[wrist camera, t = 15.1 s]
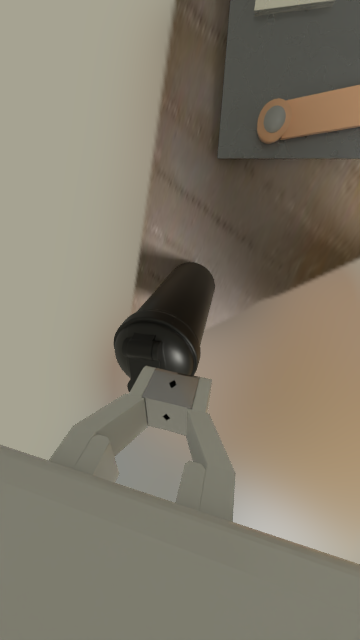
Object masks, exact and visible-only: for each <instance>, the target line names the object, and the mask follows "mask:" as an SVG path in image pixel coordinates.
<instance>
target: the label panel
mask: <svg viewBox="0 0 360 640" xmlns="http://www.w3.org/2000/svg"><path fill="white" fill-rule="evenodd" d="M356 85H360V0H230V11H229V23H228V35H227V47H226V59H225V72H224V84H223V96H222V108H221V120H220V132H219V145H218V157H217V158H218V159H360V127H355V128H349V129H343V130H337V131H332V132H326V133H320V134H314V135H308V136H302V137H296V138H290V139H284V140H280V139H281V138H280V139H279V140H277V141H276V142H274V143H271V144H266V143H263V142H262V141H261V140H260V139H259V137H258V134H257V123H258V117H259V114H260V112H261V110H262V109H263V107H264V106H265V105H266V104H267V103H268V102H270V101H271V100H273V99H278V98H280V99H284V100H285V101H286V100H290V99H295V98H300V97H304V96H309V95H314V94H318V93H323V92H328V91H332V90H337V89H342V88H346V87H351V86H356Z"/></svg>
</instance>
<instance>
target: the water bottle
mask: <svg viewBox="0 0 360 640" xmlns="http://www.w3.org/2000/svg"><path fill="white" fill-rule="evenodd" d="M214 289H215V283H214V279H213V276H212V275H211V273H210V272H209V271H208V270H207V269H206V268H205V267H203V266H202V265H199V264H196V263H184V264H181V265H179V266H178V267H177V268H175V269H174V271H173V272H172V273H171V274H170V275H169V276H168V277H167V278H166V280H165V281H164V282H163V283H162V284H161V285H160V286H159V287H158V288H157V290H156V291H155V292H154V293H153V294H152V295H151V296H150V297H149V299H148V300H147V301H146V302H145V303H144V304H143V305H142V306H141V308H140V309H139V310H138V311H137V312H136V313H134V314H132V315H131V316H129V317H128V318H127V319H126V320H125V321H124V322H123V323H122V325H121V326H120V327H119V328H118V330H117V332H116V334H115V337H114V349H115V355H116V359H117V361H118V363H119V365H120V367H121V368H122V370H123V371H124V372H125V373H126V375H128V376H129V377H130V378H131V380H130V381H129V383H128V390H129V392H130V391H131V389H132V387H133V385H134V384H135V382H136V380H137V378H138V376H139V375H140V373H141V371H142V369H143V368H144V367H145V366H150V367H154V368H159V369H163V370H168V371H172V372H176V373H183V374H188V375H194V374H195V372H196V370H197V367H198V363H199V360H200V344H201V340H202V336H203V333H204V329H205V325H206V321H207V317H208V313H209V309H210V305H211V301H212V297H213V293H214Z"/></svg>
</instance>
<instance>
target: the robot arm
mask: <svg viewBox="0 0 360 640" xmlns="http://www.w3.org/2000/svg"><path fill="white" fill-rule="evenodd" d="M211 385H212V380H211V379H207V378H202V377H198V376H193V375H188V374H183V373H176V372H172V371H168V370H163V369H159V368H154V367H150V366H145V367H144V368H143V369H142V371H141V373H140V375H139V376H138V378H137V380H136V382H135V384H134V385H133V387H132V389H131V391H130V393H129V394H124V395H123V396H121V397H119V398H118V399H116V400H114V401H113V402H111V403H109V404H108V405H106V406H105V407H103V408H101V409H100V410H98V411H96V412H95V413H94V414H92V415H90V416H89V417H87V418H85V419H83V420H82V421H80V422H79V423H77V424H75V425H74V426H73V427H72V428H71V430H70V431H69V432H68V434H67V435H66V437H65V438H64V439H63V441H62V442H61V444H60V445H59V447H58V448H57V449H56V451H55V452H54V454H53V455H52V456H51V458H50V459H49V461H48V460H45V459H42V458H39V457H36V456H33V455H30V454H27V453H24V452H21V451H18V450H15V449H12V448H9V447H6V446H3V445H0V640H360V564H357V563H354V562H351V561H348V560H345V559H342V558H339V557H336V556H333V555H330V554H327V553H324V552H321V551H318V550H315V549H312V548H309V547H306V546H303V545H300V544H297V543H294V542H291V541H288V540H285V539H282V538H279V537H276V536H273V535H270V534H267V533H264V532H261V531H258V530H255V529H252V528H249V527H246V526H243V525H240V524H237V523H234V522H233V505H234V486H235V471H234V469H233V467H232V464H231V462H230V460H229V457H228V455H227V453H226V451H225V448H224V446H223V444H222V442H221V440H220V437H219V435H218V433H217V430H216V428H215V426H214V423H213V421H212V419H211V417H210V414H208V407H209V400H210V393H211ZM148 426H151V427H155V428H160V429H164V430H168V431H172V432H175V433H178V434H181V435H185V436H186V438H187V441H188V445H189V449H190V453H191V456H192V460H193V462H192V461H188V462H187V463H185V466H184V470H183V474H182V478H181V482H180V486H179V490H178V495H177V498H176V502H175V503H173V502H171V501H168V500H165V499H162V498H159V497H156V496H153V495H150V494H147V493H144V492H141V491H138V490H135V489H132V488H129V487H126V486H123V485H120V484H117V483H115V482H116V480H117V477H118V475H119V471H118V468H117V464H116V461H115V458H114V457H115V456H116V455H117V454H118V453H119V452H120V451H121V450H123V449H124V448H125V447H126V446H127V445H128V444H129V443H130V442H131V441H132V440H134V439H135V438H136V437H137V436H138V435H139V434H140V433H141V432H143V431H144V430H145V429H146V428H147V427H148Z"/></svg>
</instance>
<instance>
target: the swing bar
mask: <svg viewBox="0 0 360 640" xmlns="http://www.w3.org/2000/svg"><path fill="white" fill-rule="evenodd" d="M355 127H360V85H356V86H351V87H346V88H342V89H337V90H332V91H328V92H323V93H318V94H314V95H309V96H304V97H300V98H295V99H290V100H286V101H285V100H284V99H280V98H278V99H273V100H271V101H270V102H268V103H267V104H266V105H265V106H264V107H263V109H262V110H261V112H260V114H259V117H258V123H257V134H258V137H259V139H260V140H261V141H262V142H263V143H266V144H271V143H274V142H276V141H277V140H279V139H280V138H281V139H280V140H284V139H290V138H296V137H302V136H308V135H314V134H320V133H326V132H332V131H337V130H343V129H349V128H355Z"/></svg>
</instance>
